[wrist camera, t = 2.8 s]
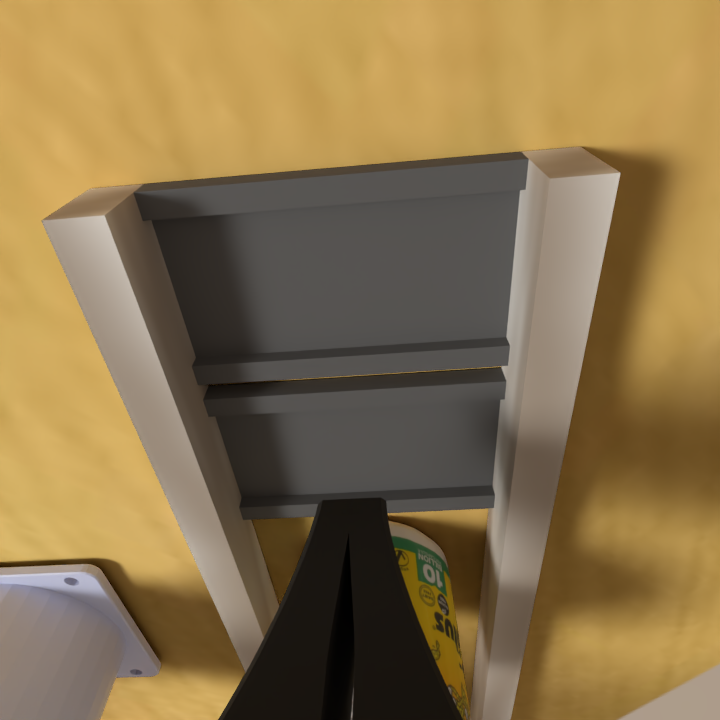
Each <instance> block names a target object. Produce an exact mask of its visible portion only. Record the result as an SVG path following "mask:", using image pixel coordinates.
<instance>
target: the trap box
mask: <svg viewBox="0 0 720 720" xmlns="http://www.w3.org/2000/svg"><path fill="white" fill-rule="evenodd" d="M522 153H523V154H524V155H525V156H526V157H527V158H528V159H529V161H528V171H527V181H526V190H520V197H519V208H518V219H517V229H516V240H515V251H514V261H513V272H512V283H511V293H510V304H509V315H508V325H507V336H506V337H507V340H508V342H509V344H510V352H509V362H508V366H502V367H501V368H502V371H503V373H504V376H505V379H506V381H507V382H506V392H505V399H503V400H500V411H499V421H498V432H497V443H496V453H495V464H494V475H493V489H494V493H495V502H494V508H489V510H488V521H487V532H486V543H485V554H484V565H483V576H482V587H481V598H480V609H479V620H478V631H477V642H476V653H475V664H474V675H473V686H472V697H471V708H470V716H471V720H511V715H512V710H513V705H514V701H515V696H516V691H517V686H518V681H519V676H520V671H521V666H522V661H523V656H524V651H525V646H526V641H527V636H528V631H529V626H530V621H531V616H532V611H533V606H534V601H535V596H536V591H537V586H538V581H539V576H540V571H541V566H542V561H543V556H544V551H545V546H546V541H547V537H548V532H549V527H550V522H551V517H552V512H553V507H554V502H555V497H556V492H557V487H558V482H559V477H560V472H561V467H562V462H563V457H564V452H565V447H566V442H567V437H568V432H569V427H570V422H571V417H572V412H573V407H574V402H575V397H576V392H577V387H578V382H579V377H580V372H581V368H582V363H583V358H584V353H585V348H586V343H587V338H588V333H589V328H590V323H591V318H592V313H593V308H594V303H595V298H596V293H597V288H598V283H599V278H600V273H601V268H602V263H603V258H604V253H605V248H606V243H607V238H608V233H609V228H610V223H611V218H612V213H613V208H614V204H615V199H616V194H617V189H618V184H619V179H620V174H621V173H620V172H619V171H617V170H616V169H614V168H613V167H611V166H609V165H608V164H606V163H605V162H603V161H602V160H600V159H599V158H597V157H596V156H594V155H592V154H591V153H589V152H588V151H586V150H585V149H583V148H582V147H571V148H559V149H548V150H536V151H524V152H522ZM142 185H143V184H139V185H127V186H116V187H104V188H92V189H89V190H87V191H86V192H84V193H83V194H81V195H79V196H78V197H76V198H75V199H73V200H72V201H70V202H69V203H67V204H66V205H64V206H63V207H61V208H60V209H58V210H57V211H55V212H54V213H52V214H51V215H49V216H48V217H46V218H44V219H43V220H41V221H42V223H43V225H44V228H45V230H46V232H47V234H48V237H49V239H50V241H51V243H52V245H53V248H54V250H55V252H56V254H57V256H58V259H59V261H60V263H61V265H62V267H63V270H64V272H65V274H66V276H67V279H68V281H69V283H70V285H71V287H72V290H73V292H74V294H75V296H76V298H77V301H78V303H79V305H80V307H81V310H82V312H83V314H84V316H85V318H86V321H87V323H88V325H89V327H90V329H91V332H92V334H93V336H94V338H95V341H96V343H97V345H98V347H99V349H100V352H101V354H102V356H103V358H104V360H105V363H106V365H107V367H108V369H109V372H110V374H111V376H112V378H113V380H114V383H115V385H116V387H117V389H118V391H119V394H120V396H121V398H122V400H123V402H124V405H125V407H126V409H127V411H128V414H129V416H130V418H131V420H132V422H133V425H134V427H135V429H136V431H137V433H138V436H139V438H140V440H141V442H142V445H143V447H144V449H145V451H146V453H147V456H148V458H149V460H150V462H151V464H152V467H153V469H154V471H155V473H156V476H157V478H158V480H159V482H160V484H161V487H162V489H163V491H164V493H165V495H166V498H167V500H168V502H169V504H170V507H171V509H172V511H173V513H174V515H175V518H176V520H177V522H178V524H179V526H180V529H181V531H182V533H183V535H184V537H185V540H186V542H187V544H188V546H189V549H190V551H191V553H192V555H193V557H194V560H195V562H196V564H197V566H198V568H199V571H200V573H201V575H202V577H203V580H204V582H205V584H206V586H207V588H208V591H209V593H210V595H211V597H212V599H213V602H214V604H215V606H216V608H217V611H218V613H219V615H220V617H221V619H222V622H223V624H224V626H225V628H226V630H227V633H228V635H229V637H230V639H231V642H232V644H233V646H234V648H235V650H236V653H237V655H238V657H239V659H240V661H241V664H242V666H243V668H244V670H245V672H246V671H247V669H248V667H249V666H250V664H251V662H252V660H253V658H254V656H255V654H256V652H257V651H258V649H259V647H260V645H261V643H262V641H263V639H264V637H265V635H266V633H267V630H268V628H269V626H270V624H271V622H272V620H273V618H274V616H275V614H276V612H277V610H278V608H279V604H278V601H277V598H276V594H275V591H274V588H273V585H272V582H271V579H270V576H269V573H268V570H267V566H266V563H265V560H264V557H263V554H262V551H261V548H260V545H259V542H258V538H257V535H256V532H255V529H254V526H253V523H252V520H243V518H242V515H241V512H240V509H239V506H240V502H241V498H242V497H241V494H240V491H239V488H238V485H237V482H236V479H235V476H234V473H233V470H232V467H231V464H230V460H229V457H228V454H227V451H226V448H225V445H224V442H223V439H222V436H221V433H220V430H219V427H218V424H217V421H216V417H208V414H207V411H206V408H205V405H204V402H203V398H204V396H205V394H206V391H207V389H208V384H207V385H198V384H197V381H196V378H195V375H194V372H193V369H192V365H193V363H194V361H195V359H196V356H195V353H194V350H193V347H192V344H191V341H190V338H189V335H188V331H187V328H186V325H185V322H184V319H183V316H182V313H181V310H180V307H179V304H178V301H177V298H176V295H175V292H174V288H173V285H172V282H171V279H170V276H169V273H168V270H167V267H166V264H165V261H164V258H163V255H162V252H161V249H160V246H159V242H158V239H157V236H156V233H155V230H154V227H153V224H152V221H151V220H148V221H143V220H142V217H141V214H140V211H139V208H138V205H137V202H136V199H135V196H134V193H133V192H134V191H136V190H137V189H138V188H139V187H141V186H142Z"/></svg>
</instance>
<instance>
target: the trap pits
mask: <svg viewBox="0 0 720 720" xmlns="http://www.w3.org/2000/svg"><path fill="white" fill-rule="evenodd" d="M528 161H529V159H528V158H527V157H526V156H525V155H524V154H523V153H522V152H513V153H501V154H489V155H478V156H466V157H454V158H443V159H431V160H419V161H407V162H396V163H384V164H372V165H361V166H349V167H337V168H326V169H314V170H302V171H291V172H279V173H267V174H256V175H244V176H232V177H221V178H209V179H197V180H186V181H174V182H162V183H151V184H143V185H142V186H141V187H139V188H138V189H137V190H136V191H134V192H133V193H134V196H135V199H136V202H137V205H138V208H139V211H140V214H141V217H142V220H143V221H148V220H151V221H152V224H153V227H154V230H155V233H156V236H157V239H158V242H159V246H160V249H161V252H162V255H163V258H164V261H165V264H166V267H167V270H168V273H169V276H170V279H171V282H172V285H173V288H174V292H175V295H176V298H177V301H178V304H179V307H180V310H181V313H182V316H183V319H184V322H185V325H186V328H187V331H188V335H189V338H190V341H191V344H192V347H193V350H194V353H195V356H196V359H195V361H194V363H193V365H192V369H193V372H194V375H195V378H196V381H197V384H198V385H207V384H223V383H239V382H255V381H271V380H287V379H303V378H319V377H335V376H351V375H367V374H383V373H399V372H415V371H431V370H447V369H463V368H479V367H495V366H508V362H509V352H510V344H509V342H508V340H507V337H506V336H507V325H508V315H509V304H510V293H511V283H512V272H513V261H514V251H515V240H516V229H517V219H518V208H519V197H520V190H526V181H527V171H528ZM506 382H507V381H506V379H505V376H504V373H503V371H502V368H491V369H475V370H459V371H443V372H427V373H411V374H395V375H379V376H363V377H347V378H331V379H315V380H299V381H283V382H267V383H251V384H235V385H219V386H208V389H207V391H206V394H205V396H204V398H203V402H204V405H205V408H206V411H207V414H208V417H216V421H217V424H218V427H219V430H220V433H221V436H222V439H223V442H224V445H225V448H226V451H227V454H228V457H229V460H230V464H231V467H232V470H233V473H234V476H235V479H236V482H237V485H238V488H239V491H240V494H241V497H242V498H241V502H240V506H239V509H240V512H241V515H242V518H243V520H252V519H273V518H294V517H315V514H316V510H317V506H318V504H319V503H320V502H321V501H322V500H333V499H355V498H377V497H381V498H383V499H384V500H386V503H387V513H400V512H421V511H442V510H464V509H485V508H494V502H495V493H494V489H493V475H494V464H495V453H496V443H497V432H498V421H499V411H500V400H503V399H505V392H506Z"/></svg>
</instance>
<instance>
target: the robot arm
mask: <svg viewBox="0 0 720 720" xmlns="http://www.w3.org/2000/svg"><path fill="white" fill-rule="evenodd" d="M160 667H161V663H160V661H159V660H158V658H157V656H156V655H155V653H154V652H153V650H152V649H151V647H150V645H149V644H148V642H147V641H146V639H145V638H144V636H143V635H142V633H141V631H140V630H139V628H138V627H137V625H136V624H135V622H134V620H133V619H132V617H131V616H130V614H129V613H128V611H127V609H126V608H125V606H124V605H123V603H122V602H121V600H120V599H119V597H118V595H117V594H116V592H115V591H114V589H113V588H112V586H111V584H110V583H109V581H108V580H107V578H106V577H105V575H104V574H103V572H102V570H101V569H100V568H98V567H96V566H94V565H91V564H71V565H48V566H25V567H1V568H0V720H100V719H101V716H102V714H103V711H104V708H105V706H106V703H107V700H108V698H109V695H110V692H111V690H112V687H113V684H114V681H115V679H116V678H119V677H151V676H155V675H157V674H158V673H159V671H160ZM353 688H354V690H353ZM352 700H353V713H352V720H463V718H462V716H461V714H460V712H459V710H458V708H457V706H456V704H455V702H454V700H453V698H452V696H451V694H450V692H449V689H448V687H447V685H446V683H445V681H444V679H443V677H442V674H441V672H440V670H439V668H438V665H437V663H436V661H435V659H434V656H433V654H432V652H431V649H430V647H429V644H428V642H427V640H426V637H425V635H424V632H423V630H422V627H421V625H420V622H419V620H418V617H417V615H416V612H415V609H414V607H413V604H412V601H411V598H410V595H409V593H408V590H407V587H406V584H405V581H404V578H403V575H402V572H401V569H400V566H399V563H398V559H397V556H396V552H395V548H394V544H393V541H392V536H391V532H390V527H389V522H388V515H387V503H386V500H384V499H383V498H381V497H377V498H355V499H333V500H322V501H321V502H320V503H319V504H318V506H317V510H316V514H315V517H314V521H313V524H312V527H311V530H310V533H309V536H308V539H307V541H306V544H305V547H304V549H303V552H302V555H301V557H300V560H299V562H298V565H297V567H296V569H295V572H294V574H293V576H292V579H291V581H290V583H289V586H288V588H287V590H286V593H285V595H284V597H283V600H282V602H281V604H280V606H279V608H278V610H277V612H276V614H275V616H274V618H273V620H272V622H271V624H270V626H269V628H268V630H267V633H266V635H265V637H264V639H263V641H262V643H261V645H260V647H259V649H258V651H257V652H256V654H255V656H254V658H253V660H252V662H251V664H250V666H249V667H248V669H247V671H246V673H245V675H244V676H243V678H242V680H241V682H240V684H239V685H238V687H237V689H236V691H235V692H234V694H233V696H232V697H231V699H230V701H229V703H228V704H227V706H226V708H225V709H224V711H223V713H222V714H221V716H220V718H219V719H218V720H351V712H352Z"/></svg>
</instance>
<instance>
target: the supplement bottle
mask: <svg viewBox="0 0 720 720" xmlns="http://www.w3.org/2000/svg"><path fill="white" fill-rule="evenodd" d="M388 522H389V527H390V532H391V536H392V541H393V544H394V548H395V552H396V556H397V559H398V563H399V566H400V569H401V572H402V575H403V578H404V581H405V584H406V587H407V590H408V593H409V595H410V598H411V601H412V604H413V607H414V609H415V612H416V615H417V617H418V620H419V622H420V625H421V627H422V630H423V632H424V635H425V637H426V640H427V642H428V644H429V647H430V649H431V652H432V654H433V656H434V659H435V661H436V663H437V665H438V668H439V670H440V672H441V674H442V677H443V679H444V681H445V683H446V685H447V687H448V689H449V692H450V694H451V696H452V698H453V700H454V702H455V704H456V706H457V708H458V710H459V712H460V714H461V716H462V718H463V720H471V716H470V709H469V702H468V696H467V690H466V684H465V677H464V669H463V661H462V654H461V650H460V643H459V634H458V628H457V621H456V614H455V608H454V602H453V595H452V588H451V580H450V575H449V569H448V564H447V560H446V557H445V555H444V553H443V551H442V550H441V548H440V547H439V546H438V545H437V544H436V543H435V542H434V541H433V540H431V539H430V538H429V537H427V536H426V535H424V534H423V533H421V532H420V531H418V530H417V529H415V528H413V527H410V526H407V525H405V524H401V523H397V522H392V521H388ZM353 690H354V688H353ZM352 713H353V700H352V712H351V720H352Z"/></svg>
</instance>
